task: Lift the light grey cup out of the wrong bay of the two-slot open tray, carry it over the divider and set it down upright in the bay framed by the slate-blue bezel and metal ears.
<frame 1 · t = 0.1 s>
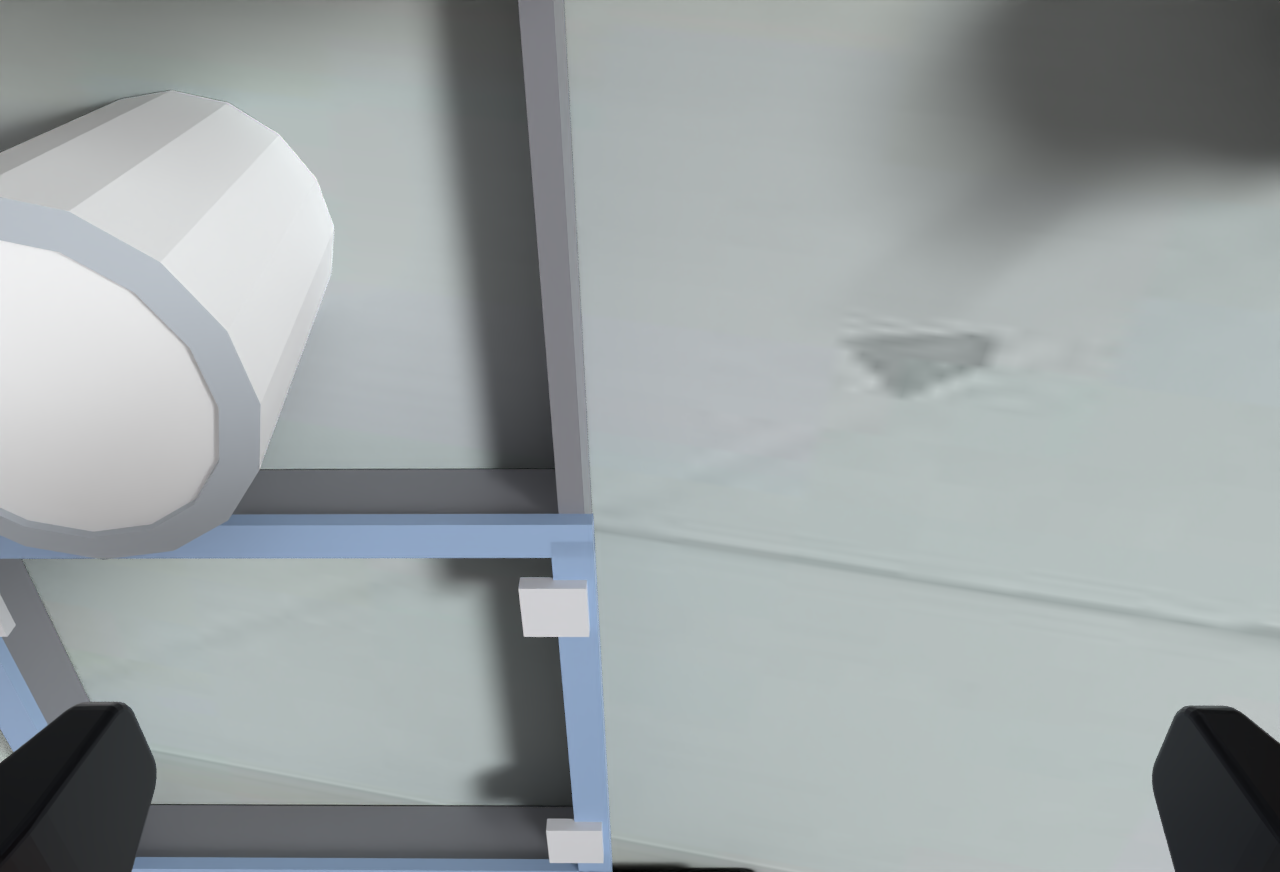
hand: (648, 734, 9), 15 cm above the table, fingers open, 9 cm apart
light grey cup: (206, 219, 22), resting in two-slot open tray
two-slot open tray: (273, 479, 26), on the table
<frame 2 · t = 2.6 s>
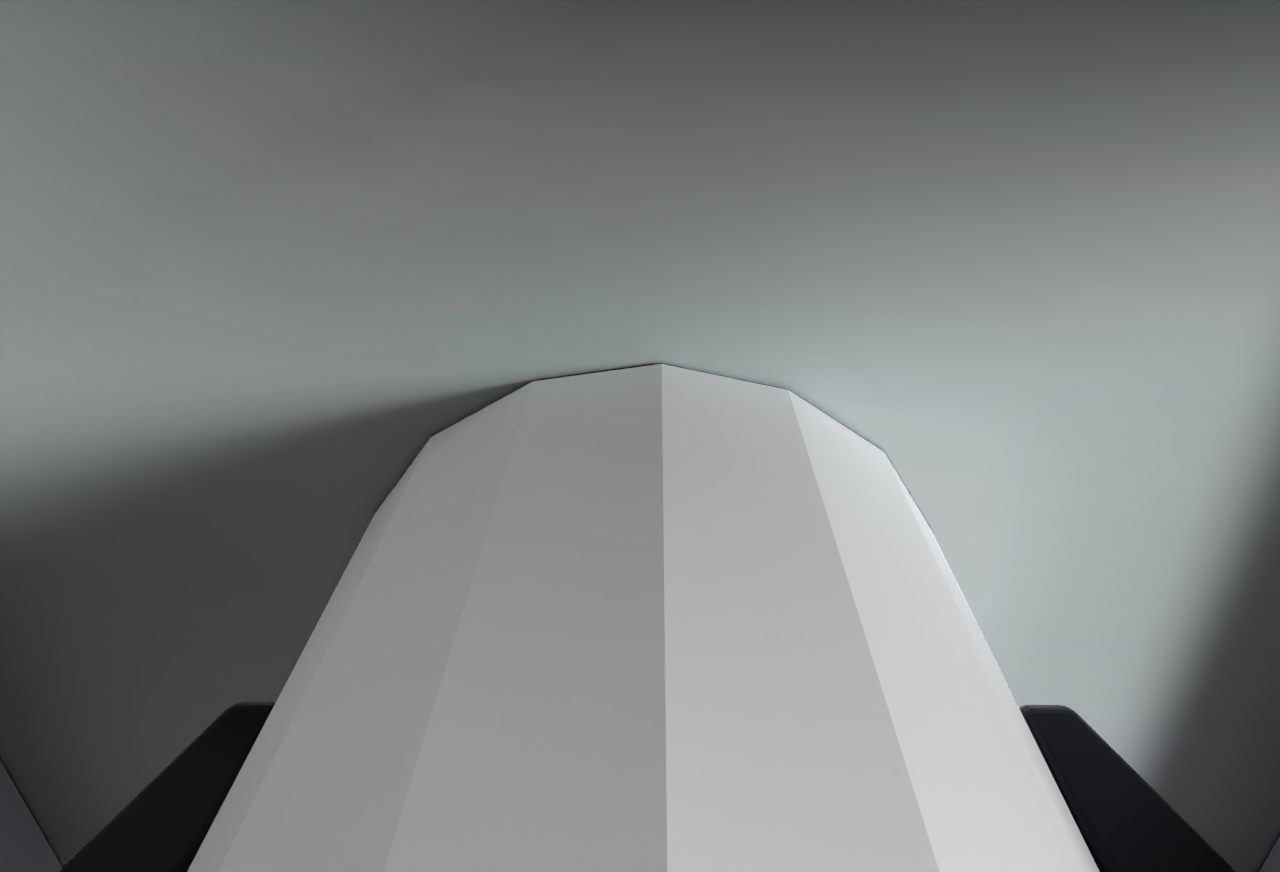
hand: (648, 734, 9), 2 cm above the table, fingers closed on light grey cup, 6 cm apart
light grey cup: (649, 594, 10), resting in two-slot open tray, touching gripper
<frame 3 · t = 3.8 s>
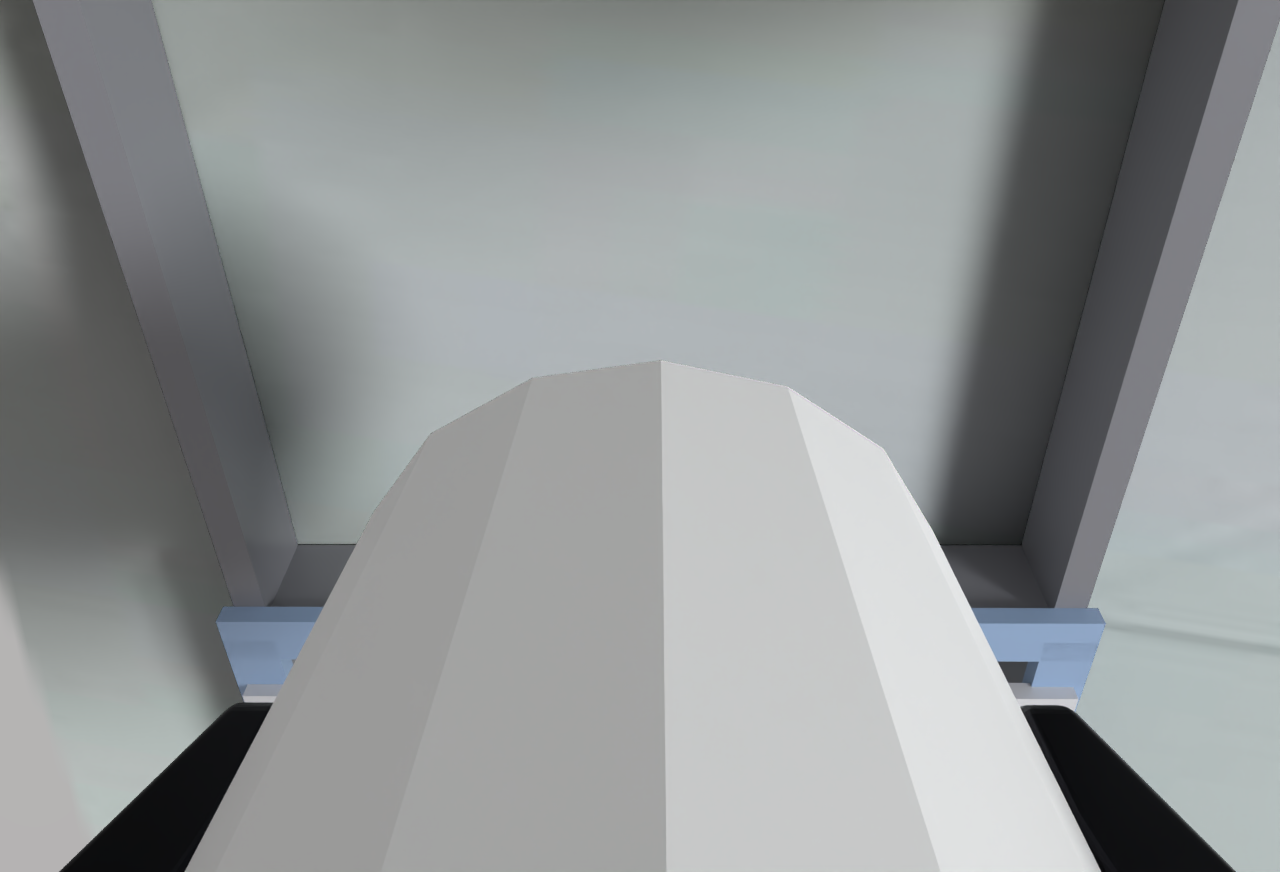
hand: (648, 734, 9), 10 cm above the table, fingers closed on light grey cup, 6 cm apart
light grey cup: (649, 591, 10), point 8 cm above the table, touching gripper
two-slot open tray: (657, 556, 21), on the table
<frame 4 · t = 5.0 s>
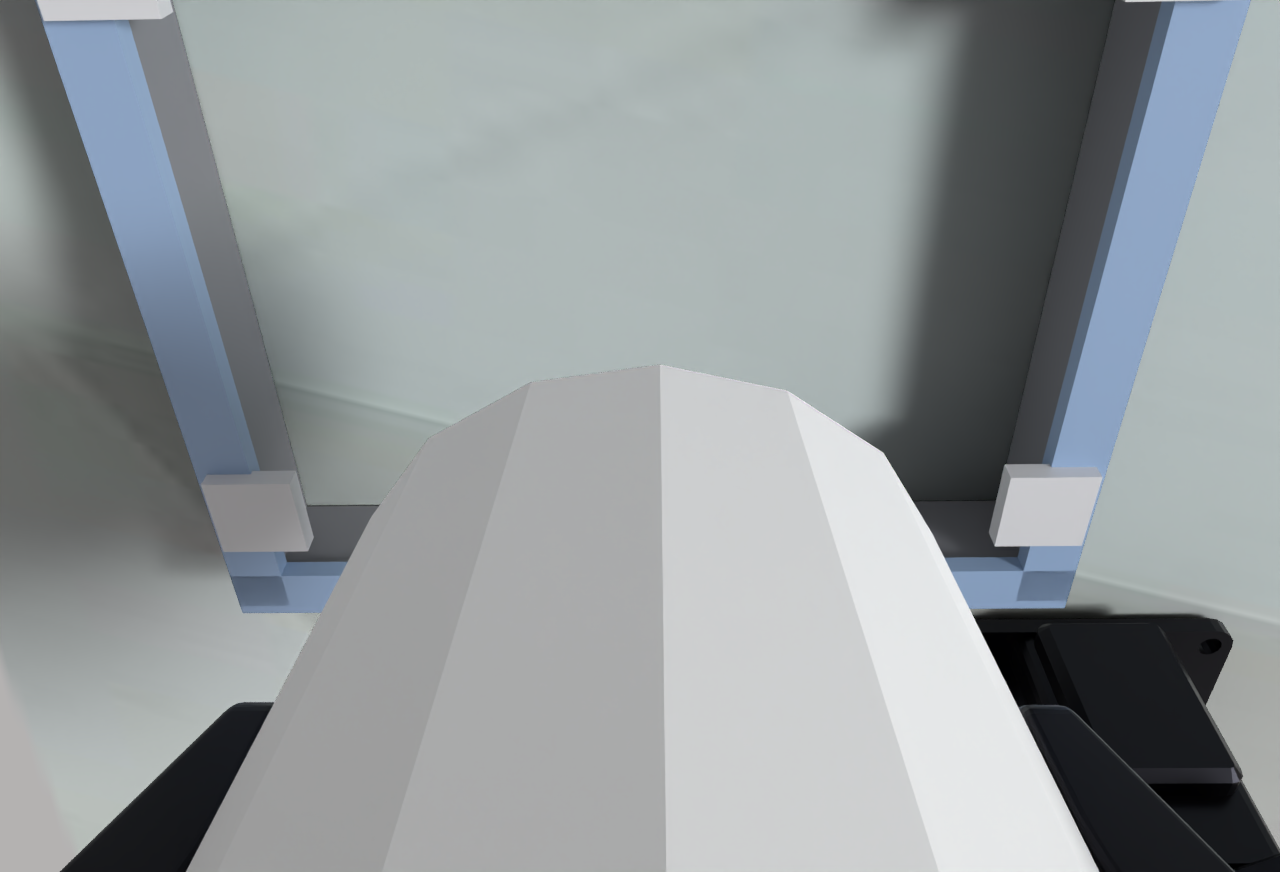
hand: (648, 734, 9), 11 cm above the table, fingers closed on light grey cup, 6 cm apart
light grey cup: (648, 595, 10), point 10 cm above the table, touching gripper
when the fingers open (2 cm above the table, at t = 7.5 s): light grey cup stays where it is, resting in two-slot open tray.
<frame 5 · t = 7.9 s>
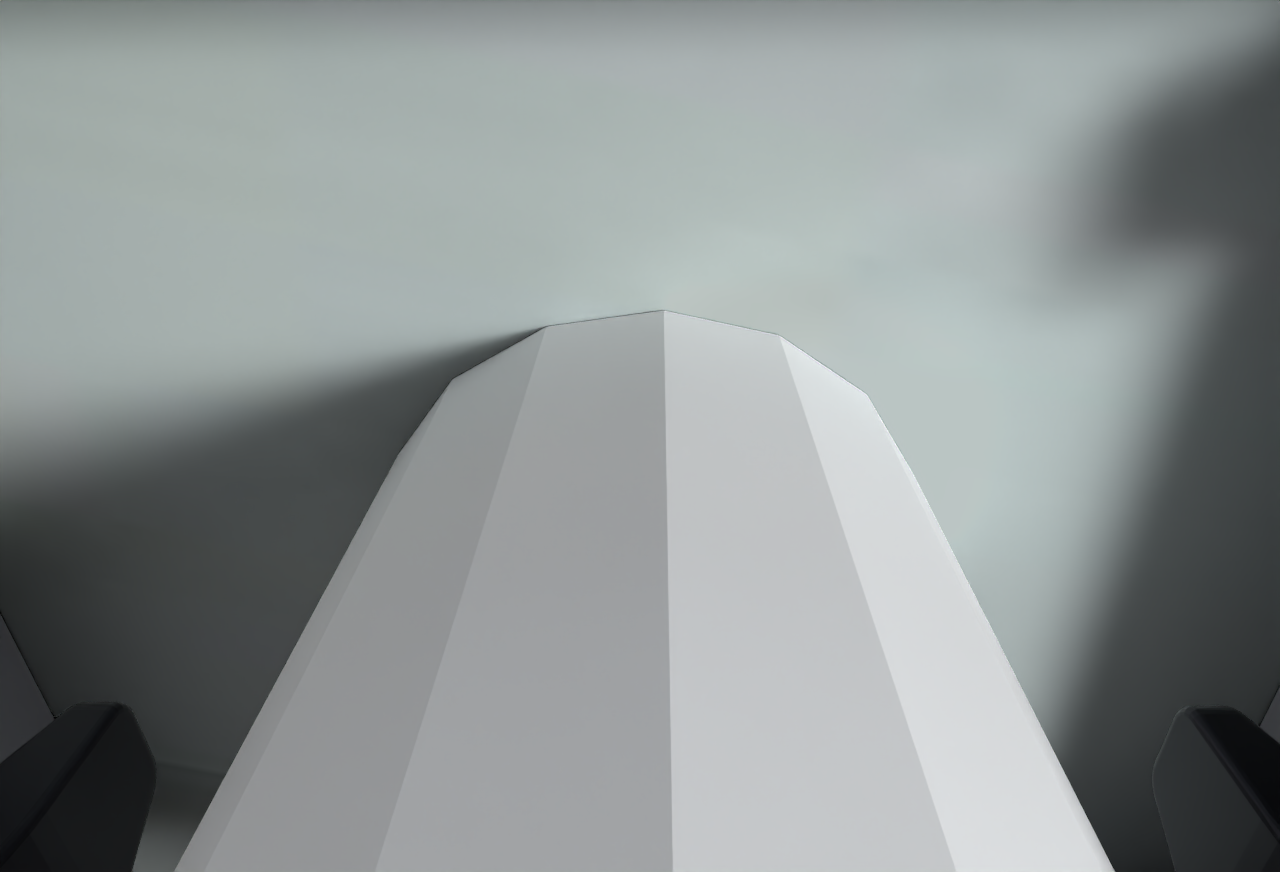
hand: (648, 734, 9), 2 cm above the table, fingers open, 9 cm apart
light grey cup: (651, 532, 11), resting in two-slot open tray
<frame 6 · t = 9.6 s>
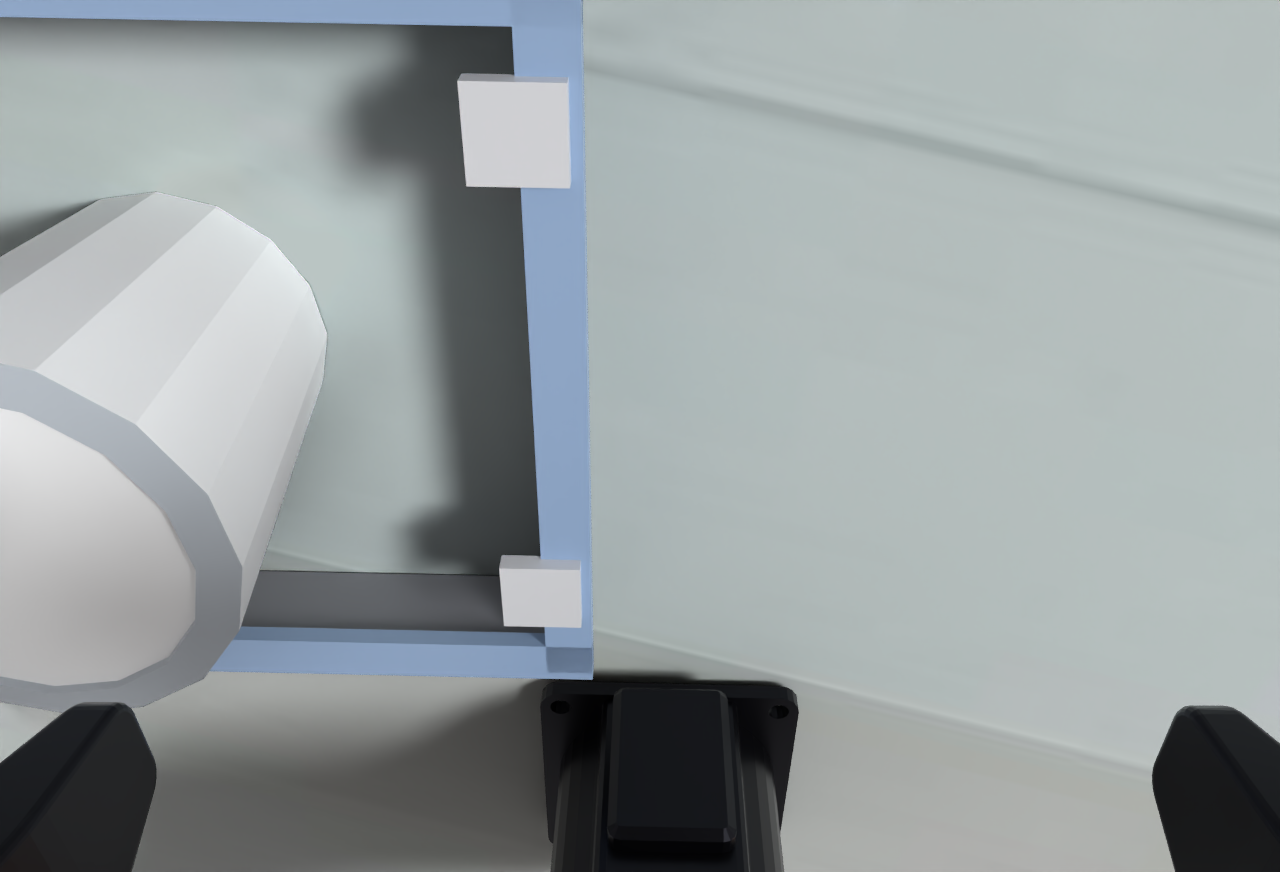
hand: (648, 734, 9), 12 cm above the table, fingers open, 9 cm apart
light grey cup: (189, 321, 21), resting in two-slot open tray
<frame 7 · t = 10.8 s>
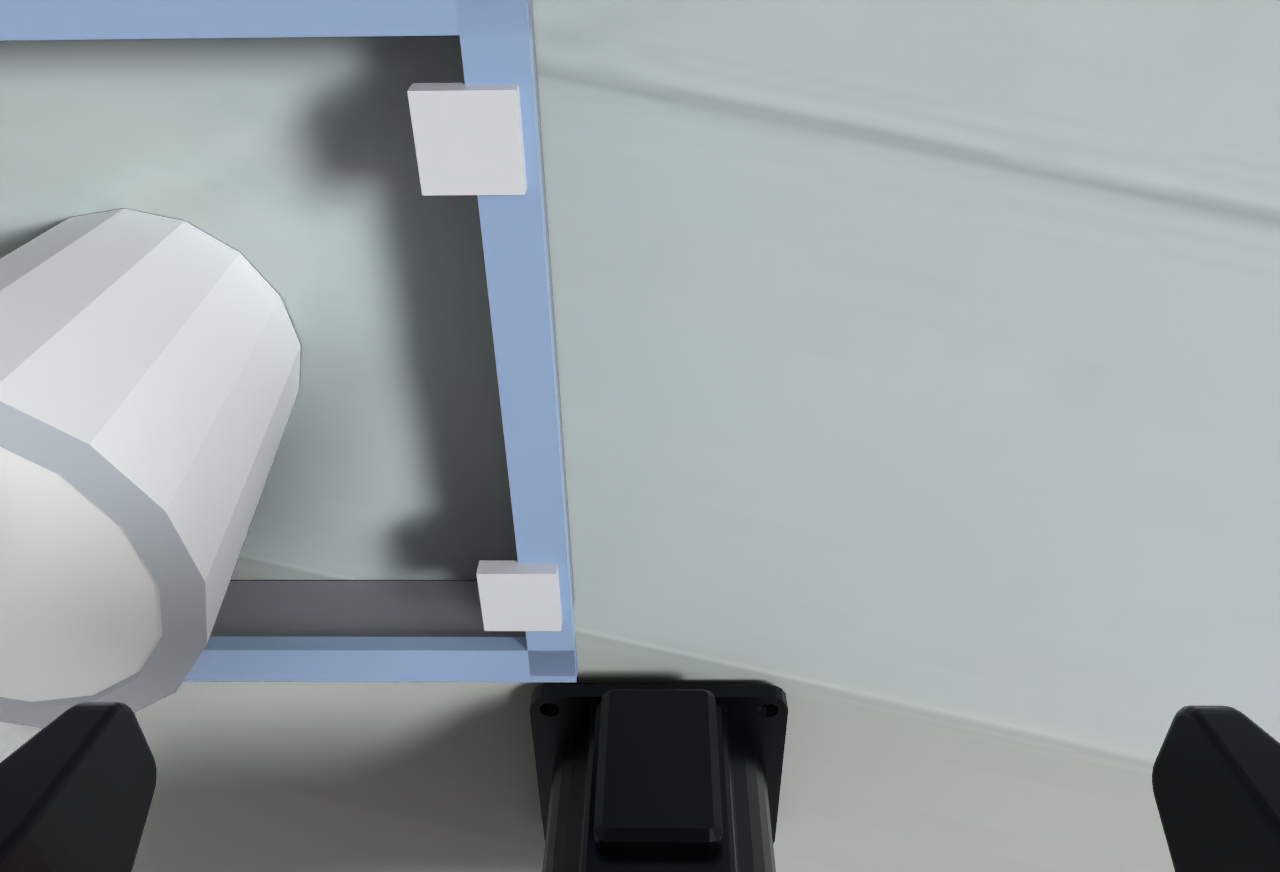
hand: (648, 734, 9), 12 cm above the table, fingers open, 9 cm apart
light grey cup: (165, 336, 21), resting in two-slot open tray
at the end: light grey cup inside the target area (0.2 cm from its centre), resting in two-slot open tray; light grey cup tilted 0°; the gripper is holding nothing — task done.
